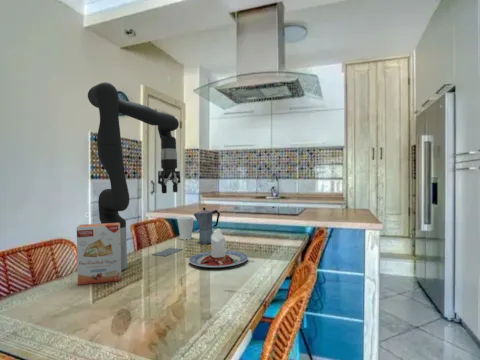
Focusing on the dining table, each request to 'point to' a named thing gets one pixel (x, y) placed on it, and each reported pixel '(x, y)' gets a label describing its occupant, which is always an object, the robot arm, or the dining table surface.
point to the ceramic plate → (218, 259)
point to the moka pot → (205, 225)
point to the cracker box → (98, 253)
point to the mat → (167, 252)
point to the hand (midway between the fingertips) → (169, 192)
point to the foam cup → (185, 227)
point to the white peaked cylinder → (217, 244)
